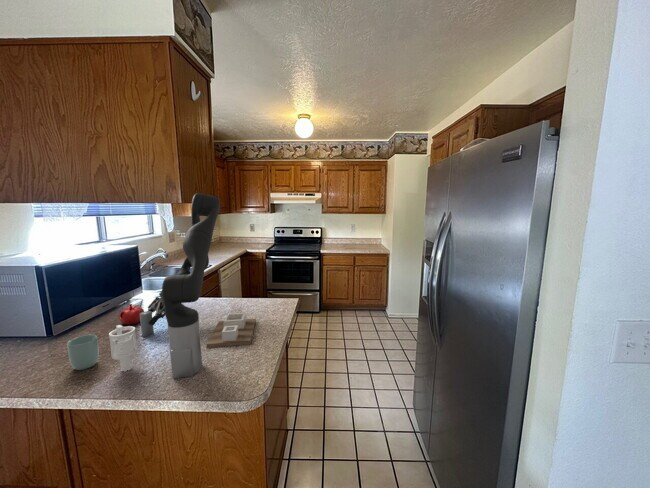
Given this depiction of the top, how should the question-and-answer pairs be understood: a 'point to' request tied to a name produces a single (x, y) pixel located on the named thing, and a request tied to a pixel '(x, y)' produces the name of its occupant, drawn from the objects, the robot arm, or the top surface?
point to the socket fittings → (233, 326)
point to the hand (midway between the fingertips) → (147, 321)
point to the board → (242, 339)
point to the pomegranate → (130, 315)
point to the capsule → (146, 324)
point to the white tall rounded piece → (123, 346)
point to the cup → (83, 351)
